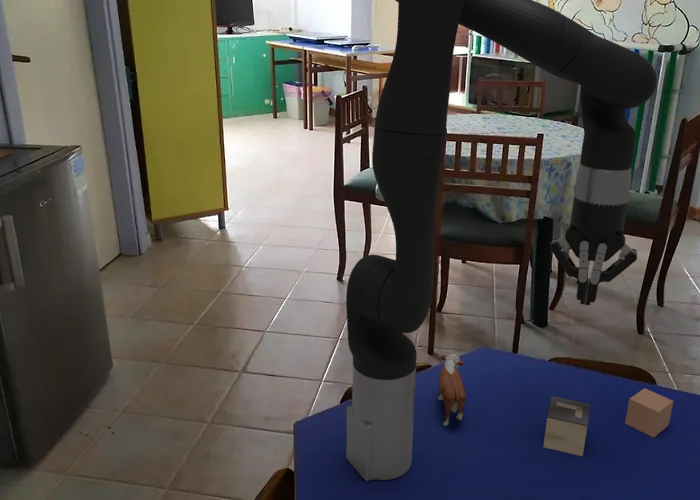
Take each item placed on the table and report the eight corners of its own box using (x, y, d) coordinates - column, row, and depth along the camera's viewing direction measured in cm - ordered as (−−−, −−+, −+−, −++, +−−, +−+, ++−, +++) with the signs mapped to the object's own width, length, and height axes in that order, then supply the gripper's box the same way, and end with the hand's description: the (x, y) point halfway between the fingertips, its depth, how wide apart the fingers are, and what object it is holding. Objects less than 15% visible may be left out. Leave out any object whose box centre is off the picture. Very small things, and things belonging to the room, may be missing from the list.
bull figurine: (460, 388, 123) (463, 349, 121) (465, 432, 111) (468, 390, 108) (436, 386, 124) (439, 347, 121) (438, 431, 111) (441, 388, 108)
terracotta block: (653, 438, 110) (658, 412, 108) (624, 423, 114) (629, 398, 112) (668, 426, 113) (673, 401, 111) (639, 412, 117) (644, 388, 115)
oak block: (590, 404, 109) (585, 435, 111) (551, 395, 111) (547, 426, 113) (587, 424, 103) (582, 456, 106) (547, 415, 105) (543, 447, 108)
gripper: (649, 193, 99) (631, 300, 105) (557, 184, 104) (544, 286, 110) (650, 207, 93) (630, 320, 99) (551, 196, 97) (538, 305, 103)
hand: (585, 302), depth 104 cm, fingers closed
